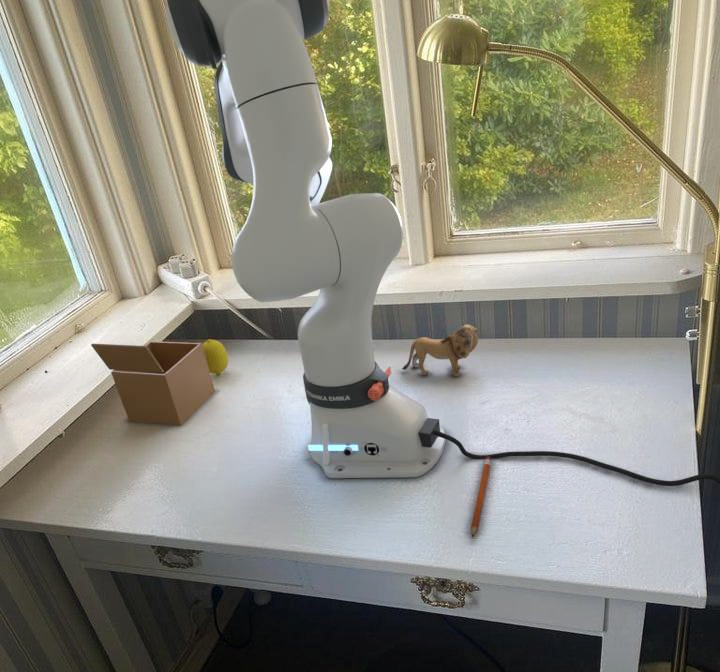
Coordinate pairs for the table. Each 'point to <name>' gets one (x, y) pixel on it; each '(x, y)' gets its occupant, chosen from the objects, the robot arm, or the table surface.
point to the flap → (127, 357)
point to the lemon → (215, 356)
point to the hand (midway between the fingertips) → (253, 289)
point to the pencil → (480, 496)
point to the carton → (166, 384)
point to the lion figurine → (444, 348)
